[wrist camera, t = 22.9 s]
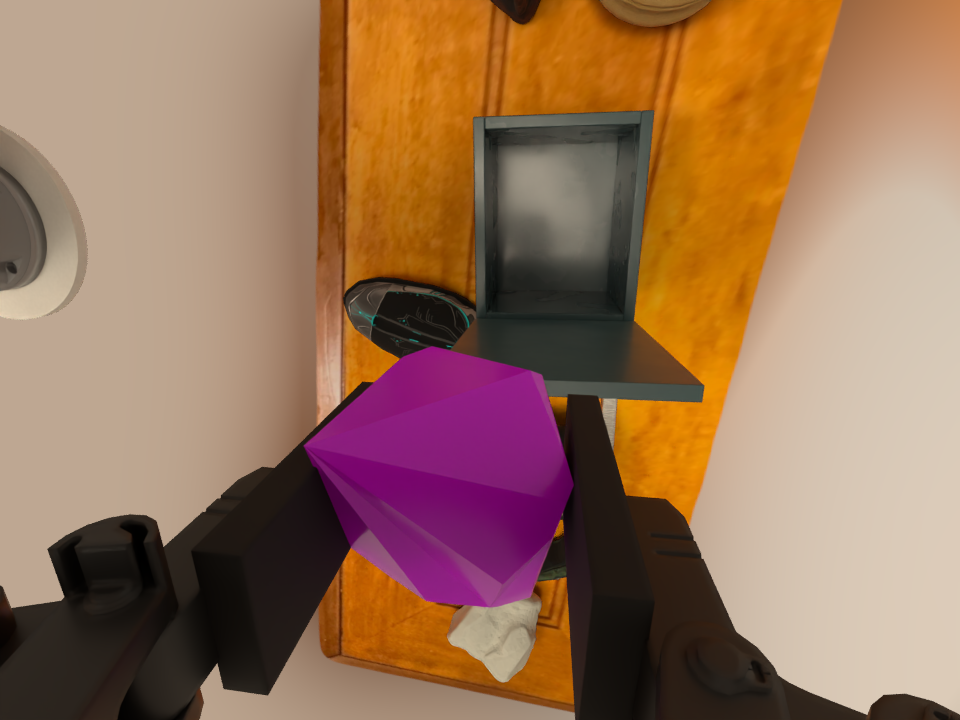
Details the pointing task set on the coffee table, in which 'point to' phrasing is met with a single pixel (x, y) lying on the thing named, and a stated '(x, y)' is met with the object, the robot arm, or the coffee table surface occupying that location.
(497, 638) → the decorative stone
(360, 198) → the coffee table surface
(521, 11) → the statue
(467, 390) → the crystal
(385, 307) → the computer mouse
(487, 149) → the bin
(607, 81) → the coffee table surface
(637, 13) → the pot
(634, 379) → the bin lid
